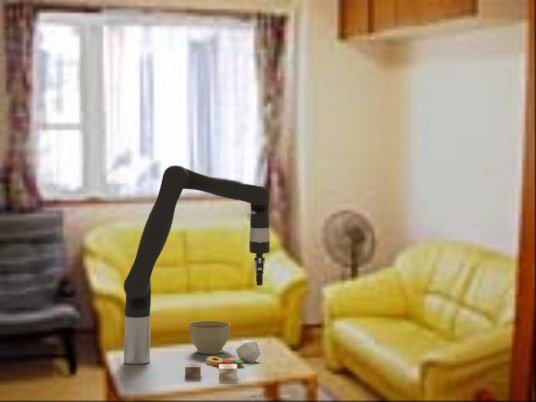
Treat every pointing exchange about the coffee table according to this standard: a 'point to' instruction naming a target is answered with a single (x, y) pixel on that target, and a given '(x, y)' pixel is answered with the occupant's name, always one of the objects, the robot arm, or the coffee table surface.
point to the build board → (240, 379)
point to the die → (248, 351)
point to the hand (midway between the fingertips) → (259, 283)
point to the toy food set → (223, 361)
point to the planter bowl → (209, 335)
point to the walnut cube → (192, 371)
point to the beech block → (227, 371)
